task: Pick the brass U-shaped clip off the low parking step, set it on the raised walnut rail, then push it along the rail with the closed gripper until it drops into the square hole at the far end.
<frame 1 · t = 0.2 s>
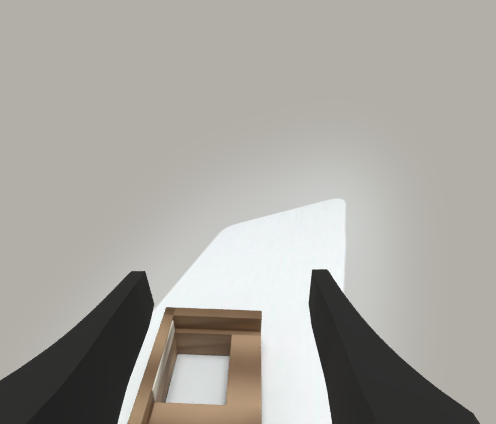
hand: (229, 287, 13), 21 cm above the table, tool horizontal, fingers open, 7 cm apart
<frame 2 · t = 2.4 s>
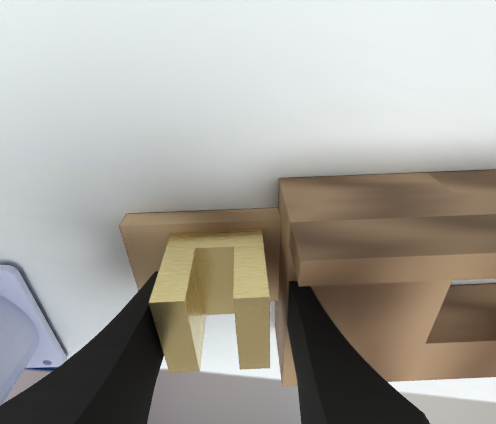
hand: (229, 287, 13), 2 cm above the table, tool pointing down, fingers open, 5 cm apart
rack: (334, 263, 16), on the table
clip: (220, 265, 15), point 1 cm above the table, touching gripper, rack
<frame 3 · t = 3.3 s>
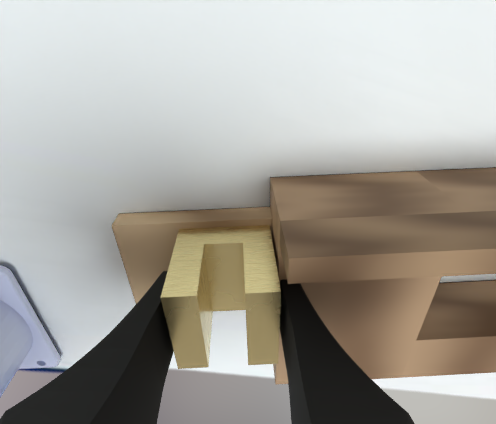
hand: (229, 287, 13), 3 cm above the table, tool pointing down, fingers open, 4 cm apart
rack: (326, 261, 16), on the table
clip: (227, 261, 15), point 1 cm above the table, touching gripper, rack
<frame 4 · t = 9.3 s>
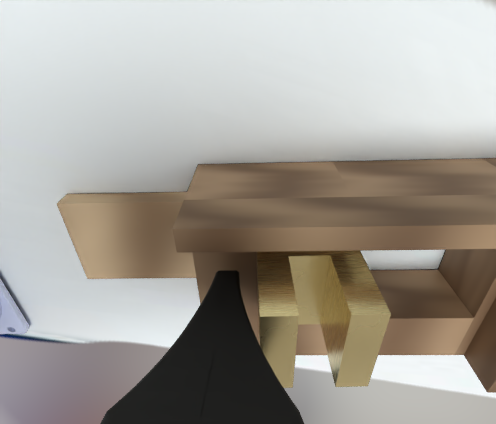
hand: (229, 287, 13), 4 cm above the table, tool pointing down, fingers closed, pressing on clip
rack: (260, 245, 18), on the table
clip: (301, 272, 14), point 4 cm above the table, touching gripper, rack
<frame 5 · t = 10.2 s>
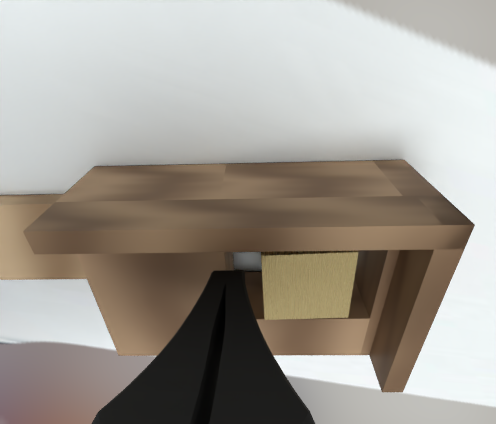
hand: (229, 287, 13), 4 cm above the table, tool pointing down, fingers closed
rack: (171, 246, 18), on the table
clip: (262, 261, 16), point 2 cm above the table, tilted 90°
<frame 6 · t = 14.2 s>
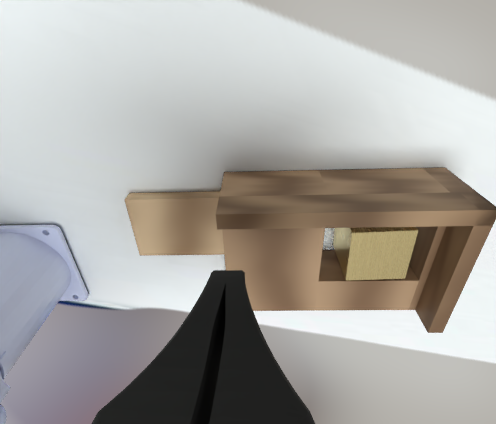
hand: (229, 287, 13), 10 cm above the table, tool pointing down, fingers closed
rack: (267, 230, 24), on the table
clip: (341, 239, 22), point 2 cm above the table, tilted 90°
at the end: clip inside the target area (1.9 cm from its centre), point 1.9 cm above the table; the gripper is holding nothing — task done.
